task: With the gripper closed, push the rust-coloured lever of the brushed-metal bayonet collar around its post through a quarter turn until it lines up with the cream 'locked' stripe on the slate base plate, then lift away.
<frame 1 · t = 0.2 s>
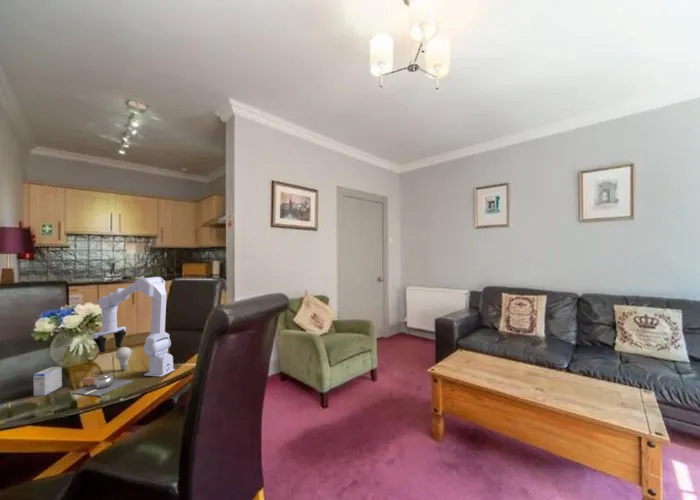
hand: (110, 349, 146), 10 cm above the table, tool pointing down, fingers open, 7 cm apart
medicine box: (48, 392, 125), on the table
lightbulb: (124, 370, 146), on the table
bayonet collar: (97, 379, 128), point 3 cm above the table, hinge at 0.0°
lock base: (103, 387, 127), on the table
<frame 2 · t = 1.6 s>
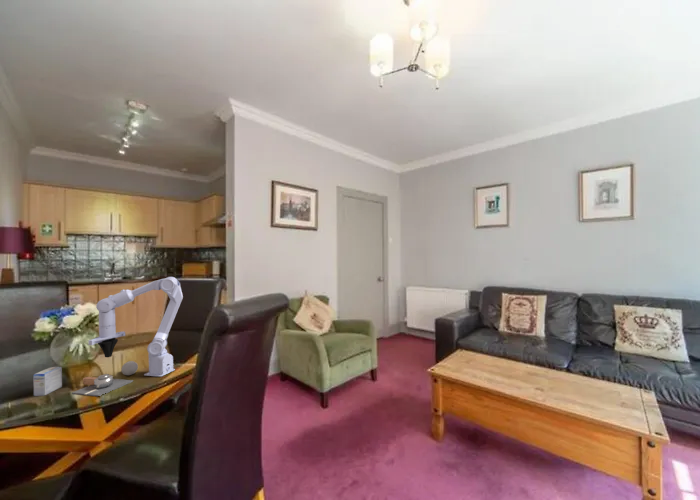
hand: (108, 356, 134), 10 cm above the table, tool pointing down, fingers closed
lightbulb: (126, 366, 146), point 2 cm above the table
everything else where it was.
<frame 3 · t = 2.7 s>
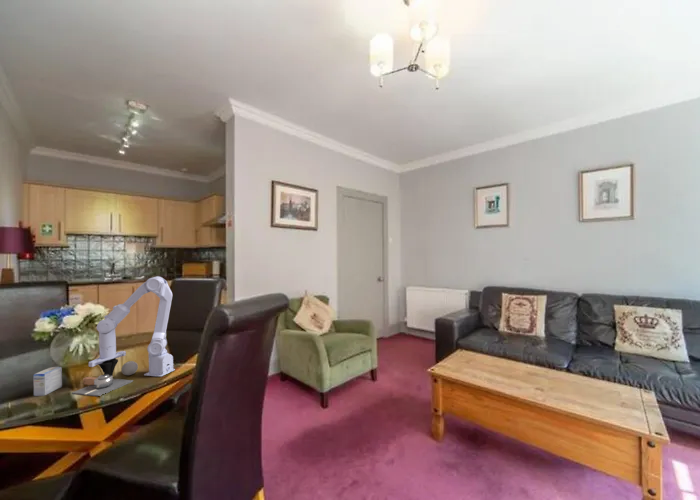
hand: (108, 377, 134), 1 cm above the table, tool pointing down, fingers closed
nothing on the table moved.
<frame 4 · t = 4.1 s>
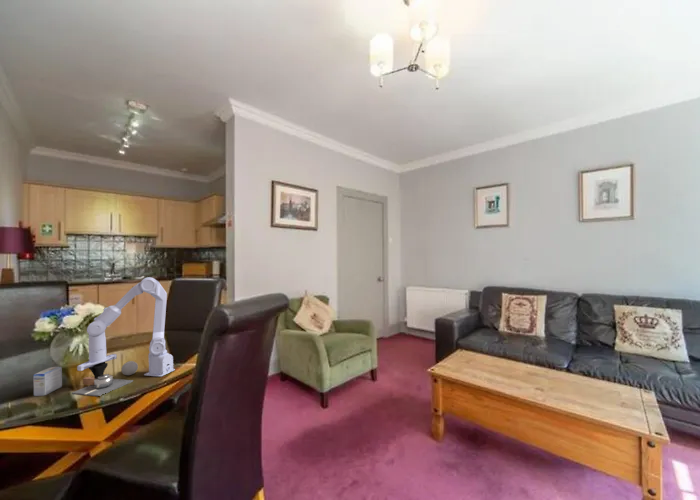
hand: (98, 381, 130), 1 cm above the table, tool pointing down, fingers closed, pressing on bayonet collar
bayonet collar: (97, 379, 128), point 3 cm above the table, hinge at 0.1°, touching gripper
everything else where it was.
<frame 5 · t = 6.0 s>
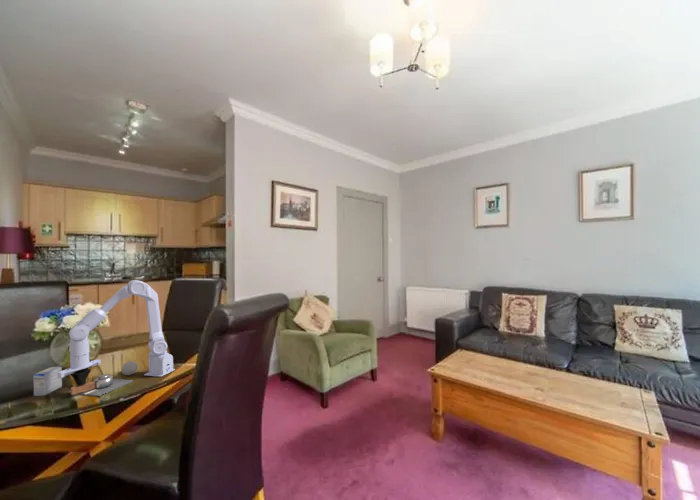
hand: (80, 388, 123), 1 cm above the table, tool pointing down, fingers closed
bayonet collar: (92, 383, 124), point 3 cm above the table, hinge at 66.4°, touching gripper
everything else where it was.
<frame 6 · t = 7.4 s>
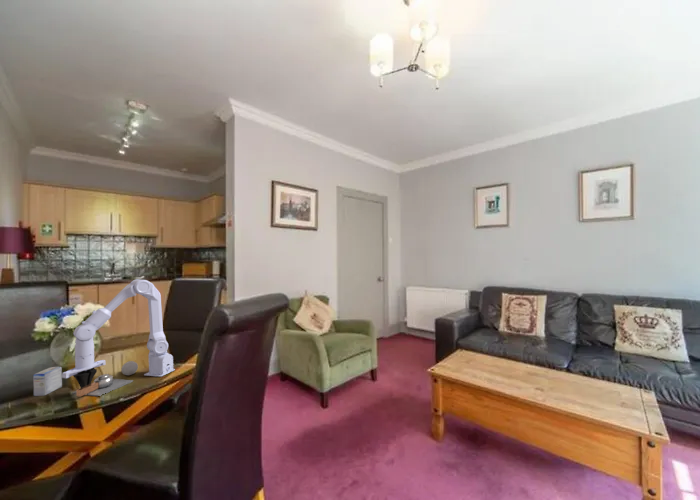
hand: (85, 389, 122), 2 cm above the table, tool pointing down, fingers closed, pressing on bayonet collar
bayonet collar: (95, 384, 123), point 3 cm above the table, hinge at 94.5°, touching gripper
everything else where it was.
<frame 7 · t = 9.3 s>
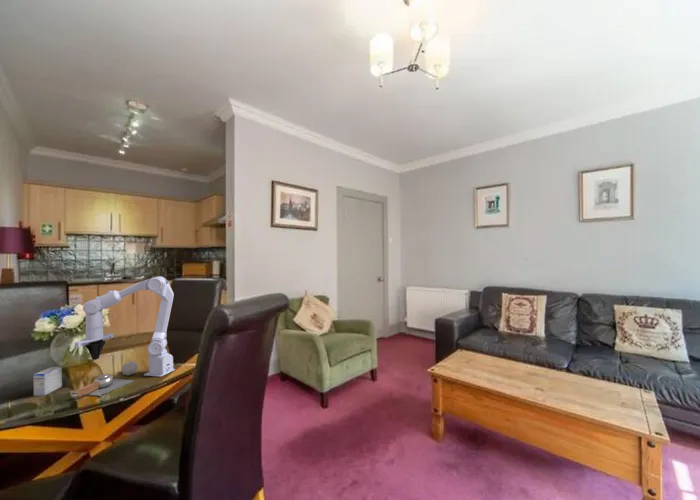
hand: (95, 359, 132), 10 cm above the table, tool pointing down, fingers closed
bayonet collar: (95, 384, 123), point 3 cm above the table, hinge at 96.1°
everything else where it was.
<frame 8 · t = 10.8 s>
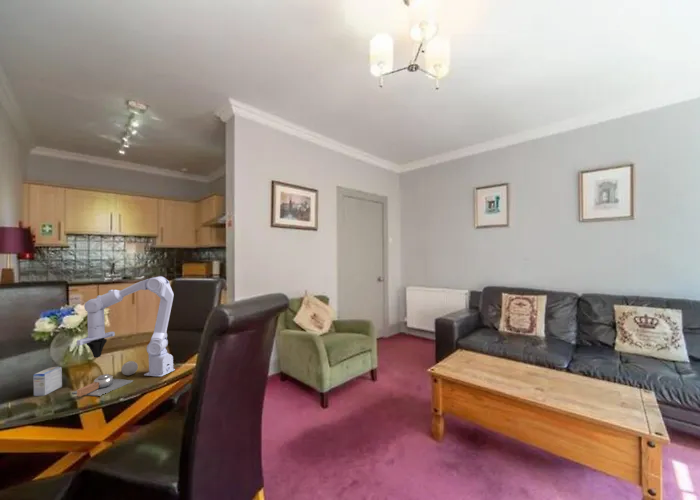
hand: (97, 357, 134), 10 cm above the table, tool pointing down, fingers closed
nothing on the table moved.
at the end: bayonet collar at +96° (first picture: +0°) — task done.
